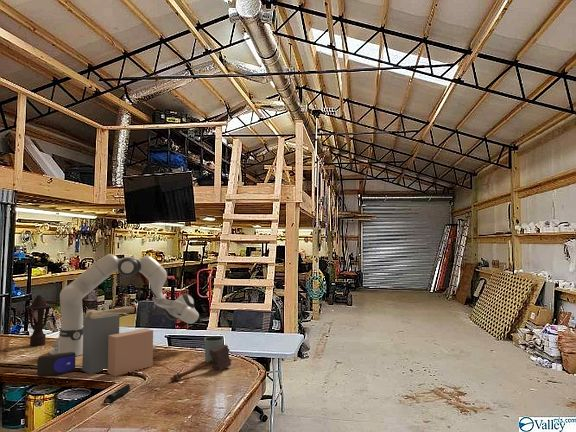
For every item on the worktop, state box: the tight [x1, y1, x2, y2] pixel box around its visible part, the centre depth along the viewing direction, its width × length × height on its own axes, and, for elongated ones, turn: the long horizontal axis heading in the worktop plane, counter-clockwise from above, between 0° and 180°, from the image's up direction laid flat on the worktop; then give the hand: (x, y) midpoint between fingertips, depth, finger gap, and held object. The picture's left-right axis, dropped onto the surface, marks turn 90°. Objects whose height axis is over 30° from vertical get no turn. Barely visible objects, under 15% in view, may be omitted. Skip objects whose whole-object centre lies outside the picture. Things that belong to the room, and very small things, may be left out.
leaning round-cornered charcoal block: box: [36, 352, 76, 378], centre depth 207 cm, size 16×5×9 cm, turn 124°
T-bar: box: [85, 306, 136, 319], centre depth 220 cm, size 7×23×3 cm, turn 140°
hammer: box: [169, 343, 232, 383], centre depth 207 cm, size 7×33×10 cm, turn 137°
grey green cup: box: [203, 335, 224, 363], centre depth 228 cm, size 10×10×12 cm
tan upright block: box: [107, 328, 154, 377], centre depth 214 cm, size 7×20×18 cm, turn 140°
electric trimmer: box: [103, 383, 131, 404], centre depth 177 cm, size 4×16×3 cm, turn 169°
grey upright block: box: [81, 314, 121, 375], centre depth 215 cm, size 9×14×26 cm, turn 140°
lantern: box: [25, 294, 53, 347], centre depth 263 cm, size 15×15×30 cm
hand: (158, 298), depth 241 cm, fingers open, 8 cm apart
